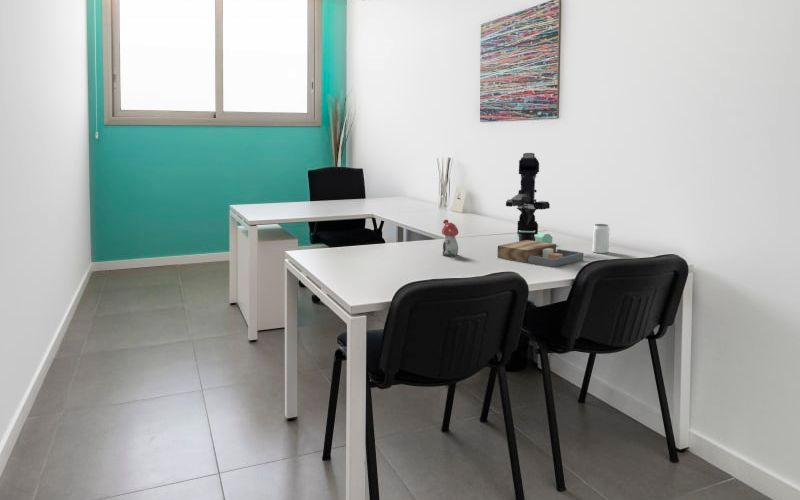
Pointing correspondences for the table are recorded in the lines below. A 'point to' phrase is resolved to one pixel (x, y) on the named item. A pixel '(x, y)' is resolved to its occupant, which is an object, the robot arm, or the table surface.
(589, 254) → the table surface
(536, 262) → the box
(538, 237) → the container
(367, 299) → the table surface
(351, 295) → the table surface
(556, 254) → the terracotta tile
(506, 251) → the walnut plate
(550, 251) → the cream tile
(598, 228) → the can
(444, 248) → the decorative ornament
